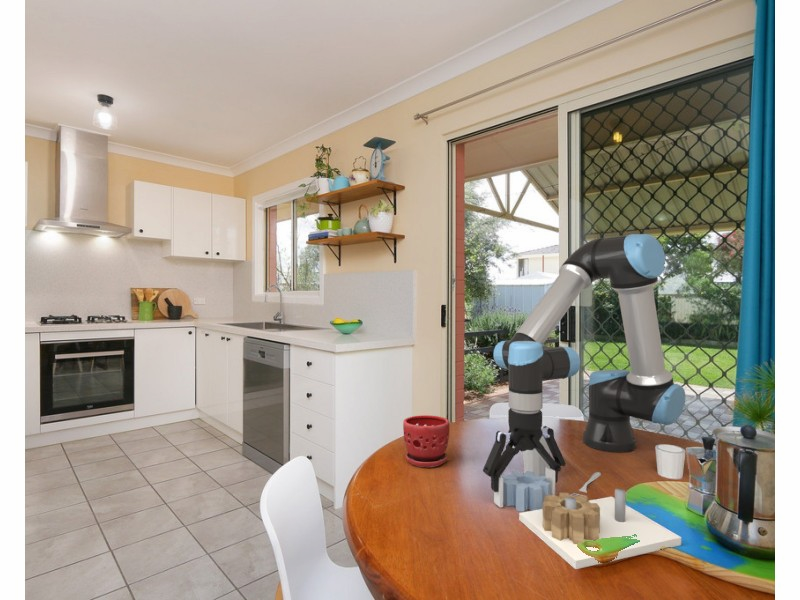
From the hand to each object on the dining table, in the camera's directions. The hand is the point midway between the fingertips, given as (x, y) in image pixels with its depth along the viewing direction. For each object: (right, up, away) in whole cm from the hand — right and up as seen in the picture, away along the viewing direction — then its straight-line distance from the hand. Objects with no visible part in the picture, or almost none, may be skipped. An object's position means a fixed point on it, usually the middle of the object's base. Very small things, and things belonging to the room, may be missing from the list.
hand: (524, 500), depth 106 cm
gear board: (+11, 0, -13) cm, 17 cm away
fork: (+18, 0, +9) cm, 20 cm away
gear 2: (+5, +1, -15) cm, 16 cm away
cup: (+7, 0, +15) cm, 16 cm away
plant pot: (-21, 0, +25) cm, 33 cm away
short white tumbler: (+42, 0, +14) cm, 44 cm away
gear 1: (0, 0, 0) cm, 0 cm away
